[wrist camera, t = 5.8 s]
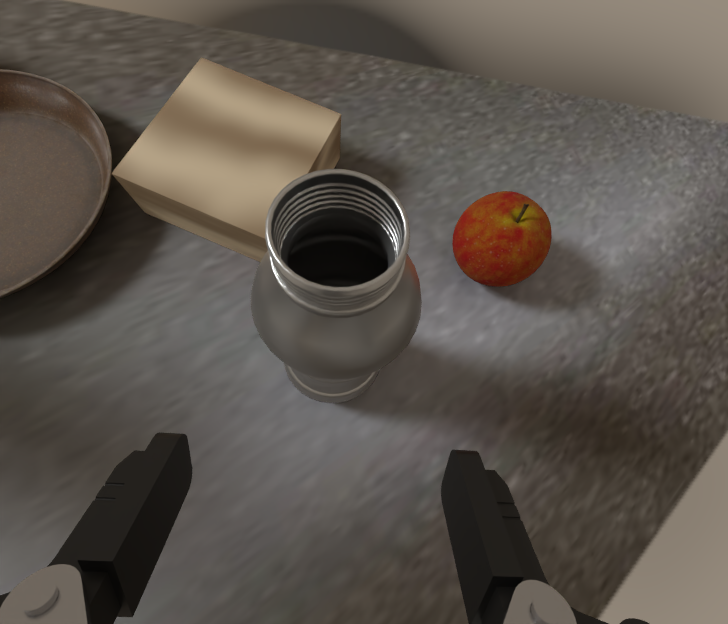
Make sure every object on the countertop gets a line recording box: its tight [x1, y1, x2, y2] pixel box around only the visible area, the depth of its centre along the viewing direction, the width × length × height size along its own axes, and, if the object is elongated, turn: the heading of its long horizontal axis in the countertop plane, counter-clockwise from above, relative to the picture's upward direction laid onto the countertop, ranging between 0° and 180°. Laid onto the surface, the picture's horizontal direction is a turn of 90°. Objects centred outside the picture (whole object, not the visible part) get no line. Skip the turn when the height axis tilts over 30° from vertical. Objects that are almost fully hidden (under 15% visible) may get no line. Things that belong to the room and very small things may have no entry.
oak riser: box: [111, 58, 341, 262], centre depth 30 cm, size 12×12×5 cm
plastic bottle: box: [251, 169, 422, 403], centre depth 19 cm, size 6×7×20 cm
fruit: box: [452, 191, 551, 287], centre depth 28 cm, size 7×7×8 cm
